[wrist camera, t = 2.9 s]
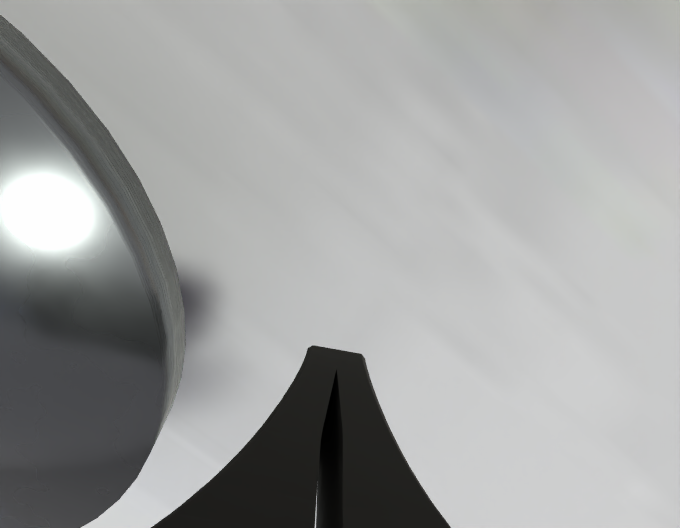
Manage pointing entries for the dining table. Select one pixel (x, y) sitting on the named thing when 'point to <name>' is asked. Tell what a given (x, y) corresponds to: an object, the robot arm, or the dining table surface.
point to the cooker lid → (75, 304)
